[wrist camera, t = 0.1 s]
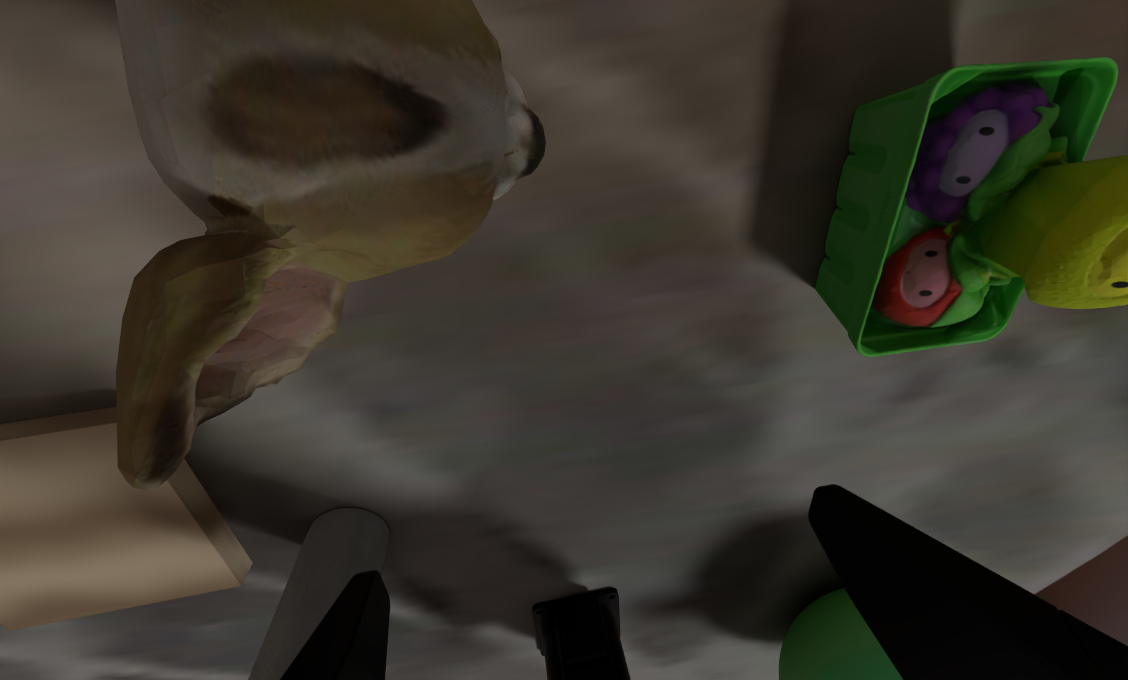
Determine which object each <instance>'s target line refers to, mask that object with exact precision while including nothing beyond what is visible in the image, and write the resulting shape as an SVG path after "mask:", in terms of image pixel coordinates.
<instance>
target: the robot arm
mask: <svg viewBox="0 0 1128 680" xmlns="http://www.w3.org/2000/svg"><path fill="white" fill-rule="evenodd" d="M808 517H809V521H810V524H811V526H812V528H813V530H814V532H815V534H816V536H817V538H818V540H819V542H820V543H821V545H822V547H823V549H824V551H825V553H826V555H827V557H828V559H829V560H830V562H831V564H832V566H833V568H834V570H835V572H836V574H837V575H838V577H839V579H840V581H841V583H842V585H843V587H844V588H845V590H846V592H847V594H848V595H849V597H850V599H851V600H852V602H853V604H854V605H855V607H856V608H857V610H858V611H859V613H860V614H861V616H862V618H863V619H864V621H865V622H866V624H867V625H868V627H869V628H870V630H871V631H872V633H873V634H874V636H875V637H876V639H877V641H878V642H879V644H880V645H881V647H882V648H883V650H884V651H885V653H886V654H887V656H888V657H889V659H890V660H891V662H892V664H893V665H894V667H895V668H896V670H897V671H898V673H899V674H900V676H901V677H902V679H903V680H1128V646H1127V645H1125V644H1123V643H1121V642H1120V641H1118V640H1116V639H1114V638H1112V637H1110V636H1108V635H1107V634H1105V633H1103V632H1101V631H1099V630H1097V629H1096V628H1094V627H1092V626H1090V625H1088V624H1086V623H1085V622H1083V621H1081V620H1079V619H1078V618H1076V617H1074V616H1072V615H1070V614H1069V613H1066V612H1065V611H1063V610H1058V609H1057V608H1056V607H1055V606H1054V605H1052V604H1050V603H1049V602H1047V601H1045V600H1043V599H1041V598H1039V597H1038V596H1036V595H1034V594H1032V593H1031V592H1029V591H1027V590H1025V589H1024V588H1022V587H1020V586H1018V585H1016V584H1015V583H1013V582H1011V581H1009V580H1007V579H1006V578H1004V577H1002V576H1000V575H998V574H997V573H995V572H993V571H991V570H989V569H988V568H986V567H984V566H982V565H981V564H979V563H977V562H975V561H973V560H972V559H970V558H968V557H966V556H964V555H963V554H961V553H959V552H957V551H955V550H954V549H952V548H950V547H948V546H946V545H945V544H943V543H941V542H939V541H938V540H936V539H934V538H932V537H930V536H929V535H927V534H925V533H923V532H921V531H920V530H918V529H916V528H914V527H912V526H911V525H909V524H907V523H905V522H904V521H902V520H900V519H898V518H896V517H895V516H893V515H891V514H889V513H887V512H886V511H884V510H882V509H880V508H878V507H877V506H875V505H873V504H871V503H869V502H868V501H866V500H864V499H862V498H861V497H859V496H857V495H855V494H853V493H852V492H850V491H848V490H846V489H844V488H843V487H841V486H838V485H835V484H831V485H826V486H820V487H817V488H816V489H815V491H814V494H813V497H812V501H811V505H810V508H809V513H808ZM532 609H533V616H534V621H535V626H536V631H537V636H538V641H539V646H540V651H541V655H543V656H545V662H546V671H547V679H548V680H631V679H630V675H629V672H628V668H627V664H626V660H625V656H624V652H623V648H622V644H621V640H620V616H619V595H618V591H617V589H616V588H608V589H603V590H599V591H594V592H589V593H584V594H579V595H575V596H570V597H565V598H560V599H556V600H551V601H546V602H541V603H537V604H535V605H534V606H533V608H532ZM389 616H390V598H389V594H388V592H387V589H386V587H385V585H384V582H383V580H382V578H381V575H380V573H379V572H378V571H377V570H371V571H365V572H360V573H357V574H355V575H354V576H353V577H352V578H351V579H350V581H349V582H348V583H347V585H346V586H345V588H344V589H343V590H342V592H341V593H340V595H339V596H338V597H337V599H336V600H335V602H334V603H333V605H332V606H331V607H330V609H329V610H328V612H327V613H326V614H325V616H324V617H323V619H322V620H321V621H320V623H319V624H318V626H317V627H316V629H315V630H314V631H313V633H312V634H311V636H310V637H309V638H308V640H307V641H306V643H305V644H304V645H303V647H302V648H301V650H300V651H299V653H298V654H297V655H296V657H295V658H294V660H293V661H292V662H291V664H290V665H289V667H288V668H287V669H286V671H285V672H284V674H283V675H282V676H281V678H280V679H279V680H385V671H386V657H387V643H388V629H389Z"/></svg>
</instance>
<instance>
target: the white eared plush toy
mask: <svg viewBox="0 0 1128 680" xmlns="http://www.w3.org/2000/svg"><path fill="white" fill-rule="evenodd" d="M115 3H116V10H117V17H118V25H119V32H120V39H121V46H122V53H123V59H124V65H125V71H126V78H127V84H128V90H129V93H130V97H131V101H132V105H133V108H134V112H135V116H136V120H137V123H138V127H139V131H140V135H141V138H142V141H143V144H144V146H145V149H146V152H147V155H148V157H149V159H150V161H151V163H152V164H153V166H154V167H155V169H156V171H157V172H158V174H159V175H160V177H161V179H162V180H163V182H164V183H165V184H166V185H167V186H168V187H169V188H170V189H171V190H172V191H173V192H174V193H175V194H176V196H177V197H178V198H179V199H180V200H181V201H182V202H183V203H184V204H185V205H186V206H187V207H188V208H189V209H190V210H191V211H192V212H193V213H194V214H195V215H197V216H198V217H199V218H200V219H202V220H203V221H204V222H205V224H206V226H207V231H206V233H205V235H204V236H199V237H194V238H189V239H184V240H180V241H178V242H176V243H174V244H172V245H170V246H168V247H166V248H164V249H162V250H160V251H159V252H158V253H157V254H156V255H155V256H154V257H153V258H152V259H151V260H150V261H149V263H148V264H147V265H146V266H145V267H144V268H143V269H142V270H141V271H140V272H139V273H138V274H137V275H136V276H135V277H134V280H133V284H132V287H131V291H130V294H129V297H128V301H127V304H126V308H125V311H124V315H123V318H122V327H121V335H120V344H119V353H118V362H117V370H116V393H117V459H118V469H119V470H120V472H121V474H122V475H123V477H124V478H125V480H126V481H127V482H128V483H129V484H130V485H131V486H132V487H133V488H137V489H142V490H147V491H154V490H155V489H156V488H158V487H159V486H160V485H161V484H163V483H164V482H165V481H166V480H167V479H168V478H169V477H170V476H171V475H172V474H173V473H174V472H175V471H176V470H177V468H178V467H179V465H180V464H181V462H182V461H183V459H184V458H185V456H186V455H187V453H188V452H189V450H190V449H191V443H192V439H193V436H194V433H195V429H196V427H197V426H198V425H200V424H202V423H203V422H205V421H206V420H209V419H211V418H213V417H216V416H218V415H220V414H222V413H224V412H226V411H227V410H229V409H231V408H233V407H234V406H236V405H238V404H240V403H241V402H243V401H244V400H246V399H248V398H249V397H251V395H252V393H253V392H254V390H255V388H258V387H264V386H270V385H275V384H277V383H278V382H279V381H280V380H281V379H282V378H284V377H285V376H286V375H288V374H290V373H292V372H294V371H296V370H298V369H299V368H301V367H302V365H303V364H304V363H305V362H306V360H307V359H308V357H309V355H310V354H311V352H312V350H313V349H314V348H315V347H316V346H317V345H318V344H319V343H321V342H322V341H324V340H326V339H327V338H329V337H331V336H332V335H334V334H335V333H336V332H337V330H338V328H339V325H340V319H341V313H342V308H343V304H344V295H345V291H346V289H347V287H348V285H349V283H350V282H355V281H361V280H365V279H369V278H373V277H377V276H380V275H384V274H388V273H391V272H393V271H396V270H399V269H402V268H406V267H410V266H414V265H418V264H422V263H426V262H430V261H434V260H438V259H441V258H443V257H445V256H448V255H450V254H451V253H452V252H454V251H455V250H456V249H457V248H458V247H459V246H461V245H462V244H463V243H464V242H465V241H466V240H467V239H468V238H469V237H470V236H471V235H472V234H473V233H474V232H475V231H476V230H477V229H478V228H479V227H480V225H481V224H482V222H483V220H484V219H485V217H486V216H487V214H488V212H489V211H490V208H491V205H492V201H493V200H495V199H497V198H499V197H501V196H502V195H503V194H505V193H506V192H507V191H509V189H510V188H511V187H512V186H513V185H514V183H515V182H516V181H517V180H518V179H519V178H521V177H524V176H527V175H529V174H531V173H532V172H533V171H534V170H535V169H536V168H537V167H538V165H539V163H540V162H541V160H542V158H543V156H544V152H545V144H546V141H545V135H544V130H543V126H542V124H541V122H540V120H539V118H538V117H537V116H536V115H535V114H534V113H533V112H532V111H531V110H530V109H529V107H528V105H527V102H526V99H525V97H524V94H523V92H522V89H521V87H520V86H519V84H518V82H517V81H516V79H515V77H514V76H513V75H512V74H511V73H510V72H509V71H508V70H507V69H506V68H505V67H504V65H503V64H502V63H501V53H500V49H499V45H498V41H497V40H496V38H495V37H494V36H493V34H492V33H491V32H490V30H489V29H488V28H487V26H486V25H485V24H484V22H483V20H482V18H481V16H480V14H479V13H478V11H477V9H476V7H475V5H474V4H473V2H472V0H115Z"/></svg>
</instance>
